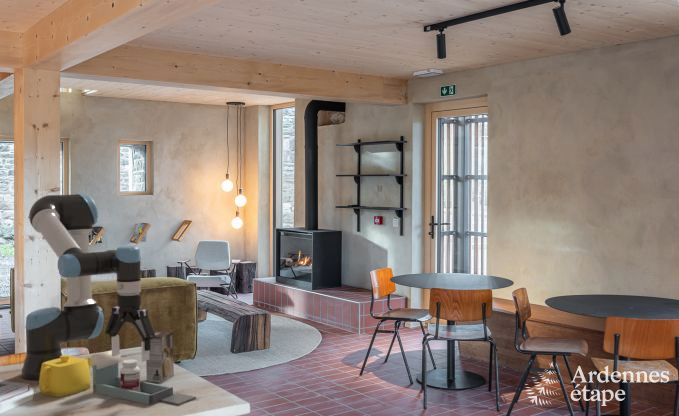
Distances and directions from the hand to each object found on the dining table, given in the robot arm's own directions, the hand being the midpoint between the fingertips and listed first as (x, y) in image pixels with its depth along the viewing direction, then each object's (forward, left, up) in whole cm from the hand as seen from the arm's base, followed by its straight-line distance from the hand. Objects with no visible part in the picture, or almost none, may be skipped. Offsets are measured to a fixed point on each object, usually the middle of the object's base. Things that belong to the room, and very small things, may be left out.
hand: (130, 358), depth 241 cm
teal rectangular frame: (+1, 0, -12) cm, 12 cm away
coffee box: (-4, +18, -12) cm, 22 cm away
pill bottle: (0, 0, -12) cm, 12 cm away
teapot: (-22, -7, -12) cm, 26 cm away
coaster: (+18, +3, -12) cm, 22 cm away
